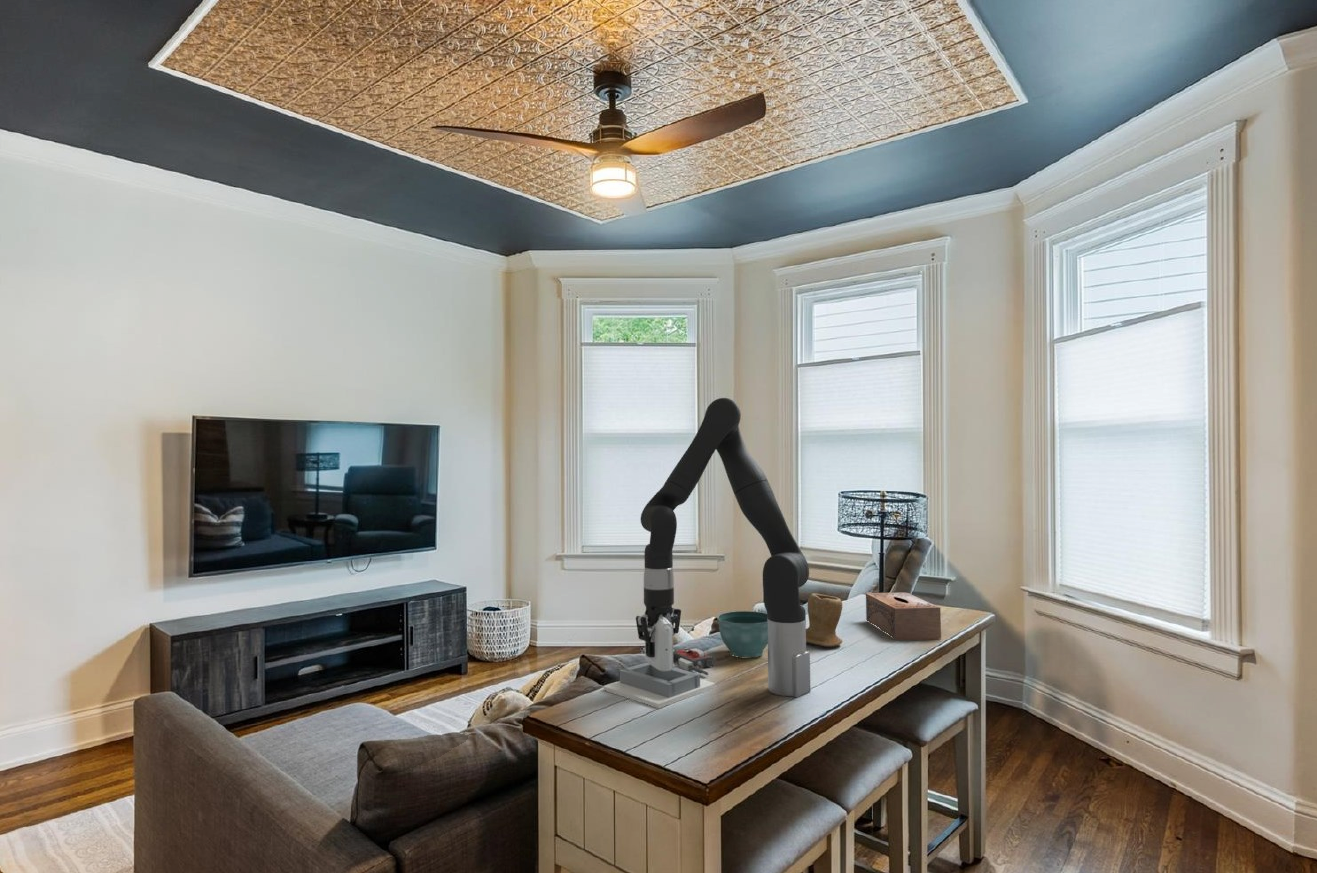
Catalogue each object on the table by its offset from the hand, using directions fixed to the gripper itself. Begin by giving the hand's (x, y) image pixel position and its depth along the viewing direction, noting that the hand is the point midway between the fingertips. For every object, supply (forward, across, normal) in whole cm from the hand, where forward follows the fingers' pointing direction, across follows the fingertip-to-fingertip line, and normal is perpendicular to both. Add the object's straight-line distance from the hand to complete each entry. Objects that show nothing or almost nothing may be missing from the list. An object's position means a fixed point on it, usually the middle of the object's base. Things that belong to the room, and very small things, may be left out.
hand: (659, 654), depth 172 cm
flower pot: (+9, +39, +3) cm, 40 cm away
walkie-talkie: (+9, +20, +6) cm, 23 cm away
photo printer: (+3, 0, 0) cm, 3 cm away
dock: (+8, 0, 0) cm, 8 cm away
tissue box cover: (+9, +97, -16) cm, 99 cm away
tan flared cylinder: (+9, +64, -6) cm, 65 cm away
